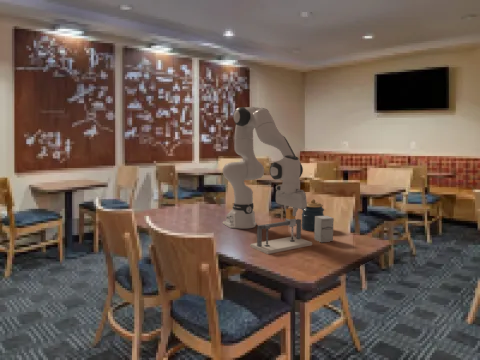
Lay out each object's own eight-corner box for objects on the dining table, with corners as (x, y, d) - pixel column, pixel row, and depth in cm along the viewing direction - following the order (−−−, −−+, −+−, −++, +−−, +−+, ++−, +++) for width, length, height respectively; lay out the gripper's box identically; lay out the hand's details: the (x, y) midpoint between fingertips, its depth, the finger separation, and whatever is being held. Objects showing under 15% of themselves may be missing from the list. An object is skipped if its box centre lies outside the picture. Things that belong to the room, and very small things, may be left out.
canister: (324, 231, 226) (325, 201, 224) (301, 231, 228) (301, 200, 226) (323, 226, 239) (323, 197, 237) (301, 225, 241) (301, 197, 239)
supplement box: (320, 243, 203) (320, 218, 202) (313, 239, 210) (314, 215, 209) (333, 241, 205) (334, 217, 204) (326, 238, 212) (327, 215, 211)
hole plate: (250, 247, 195) (250, 223, 194) (293, 238, 211) (294, 217, 209) (267, 254, 184) (267, 229, 182) (312, 245, 199) (312, 222, 198)
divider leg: (285, 238, 203) (285, 208, 201) (290, 237, 205) (291, 207, 203) (290, 240, 199) (290, 209, 198) (295, 239, 201) (296, 208, 200)
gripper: (310, 189, 192) (309, 218, 194) (283, 185, 209) (282, 211, 211) (300, 190, 189) (299, 219, 190) (273, 186, 206) (273, 212, 207)
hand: (290, 215), depth 201 cm, fingers closed on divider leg, 3 cm apart
